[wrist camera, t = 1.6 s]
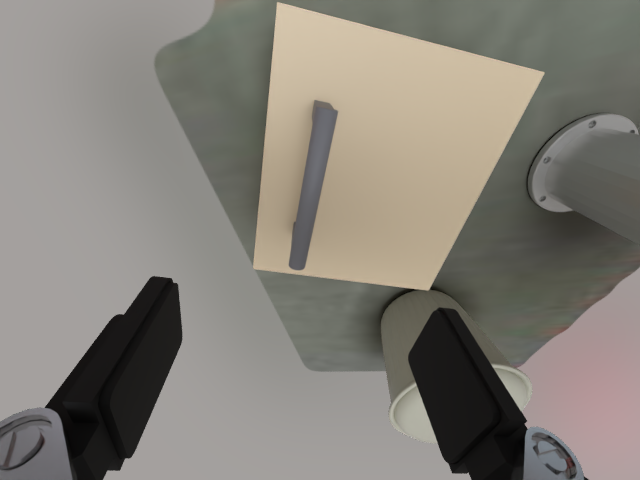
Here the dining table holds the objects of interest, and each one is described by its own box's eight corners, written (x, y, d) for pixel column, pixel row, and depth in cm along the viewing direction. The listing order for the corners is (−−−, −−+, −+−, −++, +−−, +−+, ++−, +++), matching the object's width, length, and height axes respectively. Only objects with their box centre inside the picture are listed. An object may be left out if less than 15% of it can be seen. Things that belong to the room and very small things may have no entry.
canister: (346, 306, 48) (370, 448, 30) (443, 253, 43) (542, 386, 25) (394, 356, 56) (436, 491, 38) (481, 317, 51) (575, 451, 33)
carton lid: (537, 72, 21) (617, 74, 16) (426, 286, 33) (450, 330, 27) (278, 4, 19) (267, -22, 13) (254, 264, 30) (242, 309, 24)
